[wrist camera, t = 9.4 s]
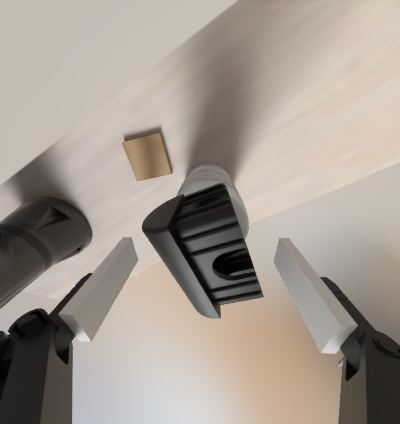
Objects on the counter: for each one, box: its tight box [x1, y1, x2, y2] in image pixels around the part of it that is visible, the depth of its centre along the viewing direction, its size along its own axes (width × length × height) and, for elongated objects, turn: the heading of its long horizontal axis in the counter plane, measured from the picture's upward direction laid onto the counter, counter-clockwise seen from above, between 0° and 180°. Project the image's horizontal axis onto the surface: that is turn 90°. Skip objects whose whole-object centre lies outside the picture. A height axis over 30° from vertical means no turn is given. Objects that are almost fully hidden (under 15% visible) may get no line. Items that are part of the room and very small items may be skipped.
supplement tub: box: [176, 164, 249, 240], centre depth 23 cm, size 10×10×15 cm
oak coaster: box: [122, 133, 172, 181], centre depth 28 cm, size 7×7×1 cm
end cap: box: [142, 183, 263, 318], centre depth 14 cm, size 10×7×7 cm
